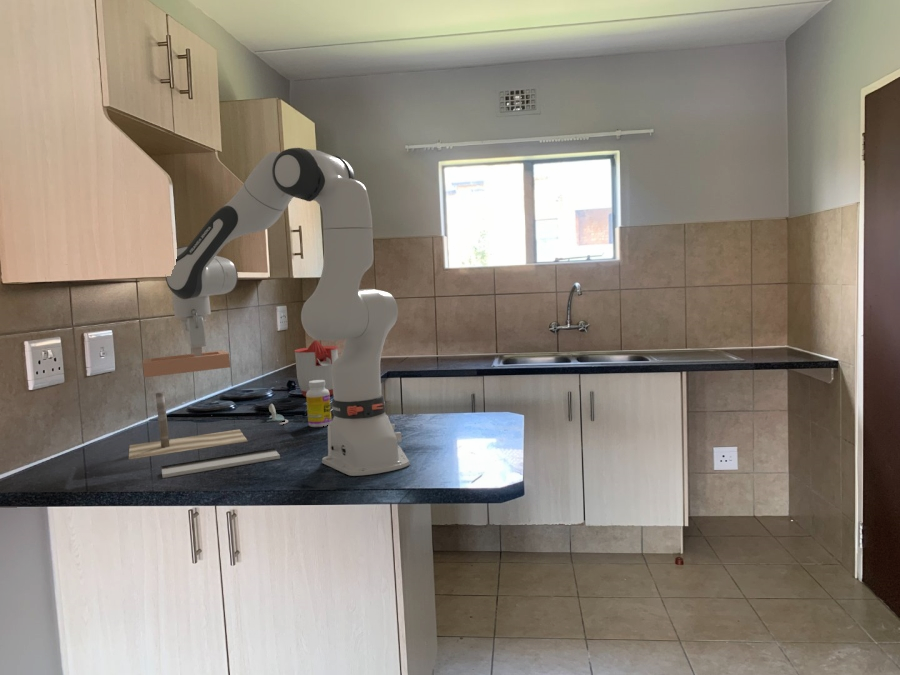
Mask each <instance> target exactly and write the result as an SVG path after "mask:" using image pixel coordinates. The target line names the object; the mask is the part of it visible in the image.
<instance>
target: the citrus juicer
mask: <svg viewBox="0 0 900 675" xmlns="http://www.w3.org/2000/svg"><path fill="white" fill-rule="evenodd" d="M338 349H339V347H338V346H335V345H323V344H322V343H320V342H319V340H316V339H314V340H313V342H311V344H310V345H309V346H308V347H303V348H298V349H295V350H294V351H293V352H294V355H295V358H294V359H295V369H296V377H297V382H298V387H299V389H300V391H301V393H302V395H303V397H305V398H306V393H307V391H309V390H310V387H309V381H313V380H325V389H327V390H329V393H330V396H333V383H332V365H333V363H334V362H335V360H336V359H337V358H338V357H339V354H338Z"/></svg>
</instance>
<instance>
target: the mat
mask: <svg viewBox="0 0 900 675" xmlns="http://www.w3.org/2000/svg"><path fill="white" fill-rule="evenodd" d="M279 459H281V455H280V454H279V452H278V451H277V450H276V449H275V447H274V448H268V449H262V450H256V451H249V452H242V453H236V454H230V455H223V456H216V457H211V458H205V459H199V460H193V461H186V462H180V463H174V464H167V465H161V468H160V469H161V475H162V479H164V478H165V479H166V478H172V477H176V476H178V477H179V476H182V475H188V474H196V473H201V472H207V471H212V470H218V469H225V468H231V467H236V466H243V465H249V464H255V463H260V462H267V461H273V460H279Z"/></svg>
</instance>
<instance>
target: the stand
mask: <svg viewBox="0 0 900 675" xmlns="http://www.w3.org/2000/svg"><path fill="white" fill-rule="evenodd" d="M165 396H166V395H165V392H162V391H160V392H156V393H155V400H156V401H155V403H156V410H157V420H158V430H159V439H160V440H157V441H150V442H144V443H143V442H142V443H136V444H130V445H129V449H128V460H134V459H140V458H141V459H142V458H146V457H147V458H148V457H154V456H159V455H161V456H162V455H167V454H173V453H180V452H185V451H194V450H199V449H206V448H211V447H212V448H213V447H218V446H220V447H221V446H225V445H227V446H228V445H232V444H238V443H240V444H241V443H245V442H246V443H247V442H248V439H247V437H245V435H244V434H243V432H242V430H241V429H233V430H226V431H219V432H214V433H213V432H211V433H205V434H198V435H191V436H185V437H178V438H170V439H169V429H168V428H169V426H168V418H167V408H166V400H165V398H166V397H165Z"/></svg>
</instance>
